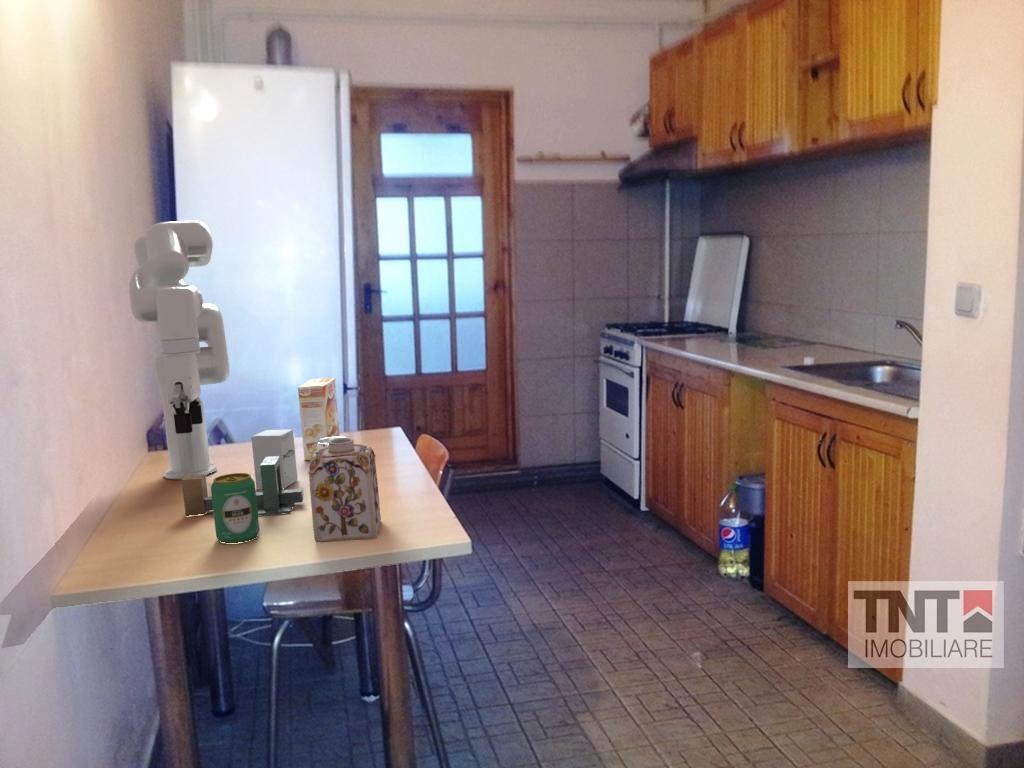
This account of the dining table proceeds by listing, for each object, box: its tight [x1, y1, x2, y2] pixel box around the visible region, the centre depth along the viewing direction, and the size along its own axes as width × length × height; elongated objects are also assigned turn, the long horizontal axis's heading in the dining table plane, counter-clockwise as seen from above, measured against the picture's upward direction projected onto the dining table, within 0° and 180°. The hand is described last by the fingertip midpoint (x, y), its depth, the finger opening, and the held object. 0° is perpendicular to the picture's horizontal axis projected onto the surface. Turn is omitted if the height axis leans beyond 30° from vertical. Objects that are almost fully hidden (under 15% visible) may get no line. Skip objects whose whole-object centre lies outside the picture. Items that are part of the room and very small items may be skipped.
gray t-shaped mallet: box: [180, 474, 304, 517], centre depth 189 cm, size 4×24×8 cm, turn 97°
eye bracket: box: [257, 456, 295, 516], centre depth 190 cm, size 12×8×10 cm, turn 7°
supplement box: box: [251, 429, 298, 489], centre depth 208 cm, size 7×7×13 cm
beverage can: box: [210, 472, 261, 543], centre depth 169 cm, size 8×8×12 cm
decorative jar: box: [307, 437, 382, 543], centre depth 169 cm, size 12×12×18 cm
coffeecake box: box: [297, 377, 341, 461], centre depth 238 cm, size 15×7×20 cm, turn 179°
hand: (189, 428), depth 186 cm, fingers open, 9 cm apart
